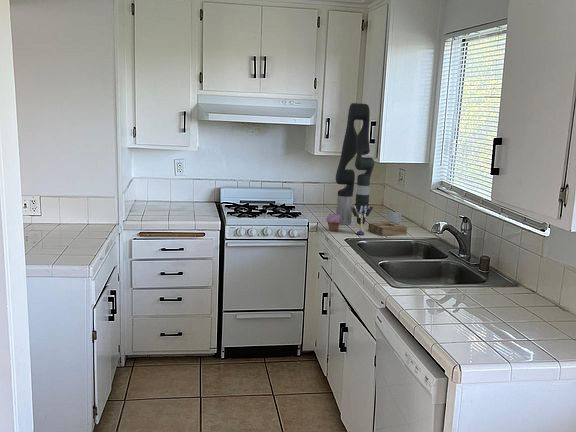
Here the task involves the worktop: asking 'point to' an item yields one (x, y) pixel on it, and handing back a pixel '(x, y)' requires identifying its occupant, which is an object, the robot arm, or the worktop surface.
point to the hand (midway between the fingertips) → (360, 223)
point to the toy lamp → (361, 222)
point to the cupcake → (334, 221)
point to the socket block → (387, 228)
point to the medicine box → (394, 217)
